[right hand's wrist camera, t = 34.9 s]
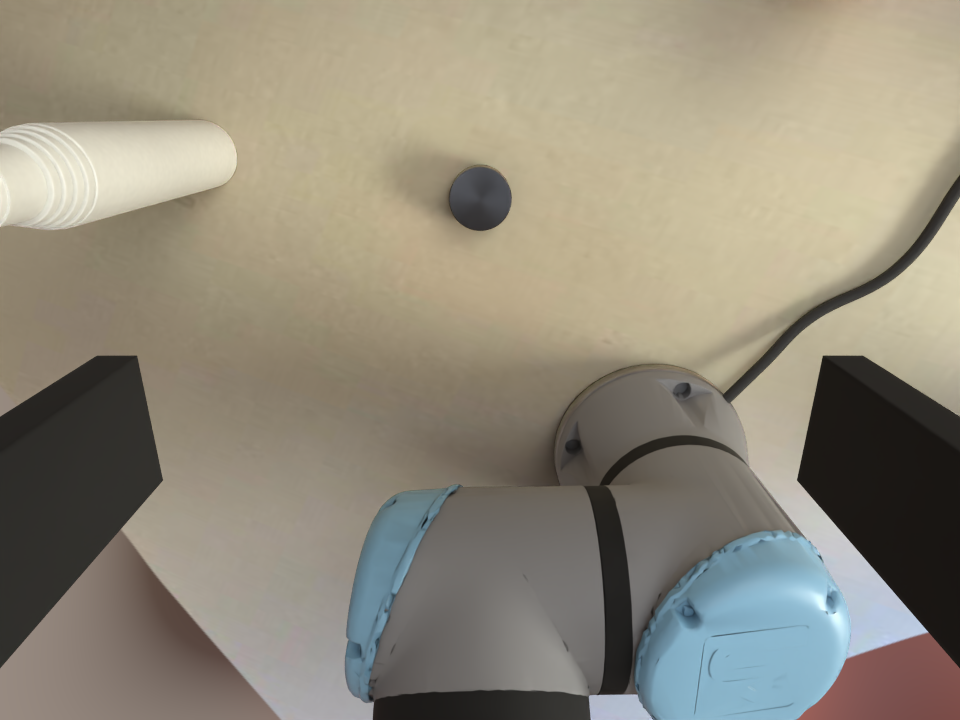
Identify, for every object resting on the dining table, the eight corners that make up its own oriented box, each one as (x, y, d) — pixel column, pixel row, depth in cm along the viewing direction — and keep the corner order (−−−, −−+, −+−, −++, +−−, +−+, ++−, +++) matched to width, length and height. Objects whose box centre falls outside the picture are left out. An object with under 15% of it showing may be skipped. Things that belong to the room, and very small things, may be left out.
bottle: (191, 105, 44) (-82, 96, 22) (249, 148, 45) (41, 179, 23) (160, 160, 45) (-126, 202, 24) (217, 201, 46) (-8, 275, 25)
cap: (461, 233, 47) (460, 238, 45) (442, 176, 45) (440, 178, 43) (517, 215, 46) (519, 219, 44) (499, 156, 45) (500, 158, 43)
